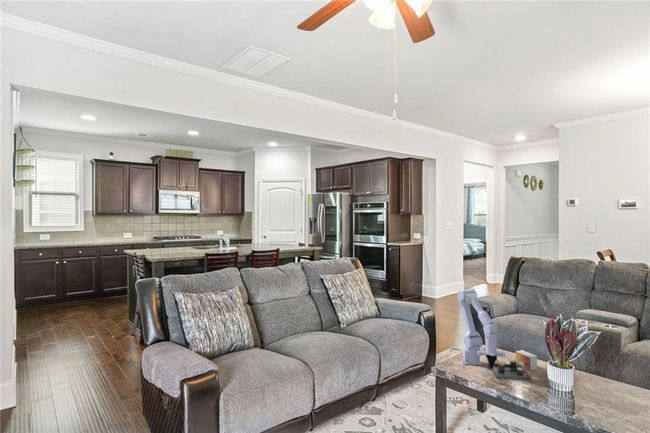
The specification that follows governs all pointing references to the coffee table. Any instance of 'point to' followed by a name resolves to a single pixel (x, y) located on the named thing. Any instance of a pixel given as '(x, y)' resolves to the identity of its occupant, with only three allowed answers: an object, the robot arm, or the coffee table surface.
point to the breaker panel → (510, 371)
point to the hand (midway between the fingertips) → (491, 368)
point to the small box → (526, 360)
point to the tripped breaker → (501, 367)
